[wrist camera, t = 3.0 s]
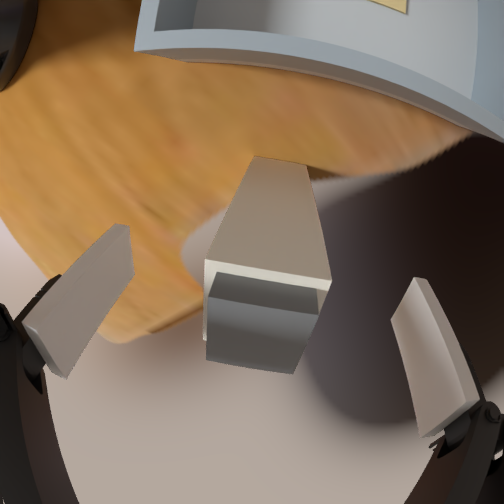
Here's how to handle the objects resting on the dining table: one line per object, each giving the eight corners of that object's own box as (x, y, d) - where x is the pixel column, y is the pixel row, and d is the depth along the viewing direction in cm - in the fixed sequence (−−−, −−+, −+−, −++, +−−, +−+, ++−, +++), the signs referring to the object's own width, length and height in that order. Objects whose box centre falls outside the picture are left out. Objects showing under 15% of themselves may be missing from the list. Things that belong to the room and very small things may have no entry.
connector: (247, 203, 22) (195, 363, 10) (253, 156, 20) (194, 283, 8) (296, 211, 22) (300, 380, 10) (306, 165, 20) (336, 307, 7)
